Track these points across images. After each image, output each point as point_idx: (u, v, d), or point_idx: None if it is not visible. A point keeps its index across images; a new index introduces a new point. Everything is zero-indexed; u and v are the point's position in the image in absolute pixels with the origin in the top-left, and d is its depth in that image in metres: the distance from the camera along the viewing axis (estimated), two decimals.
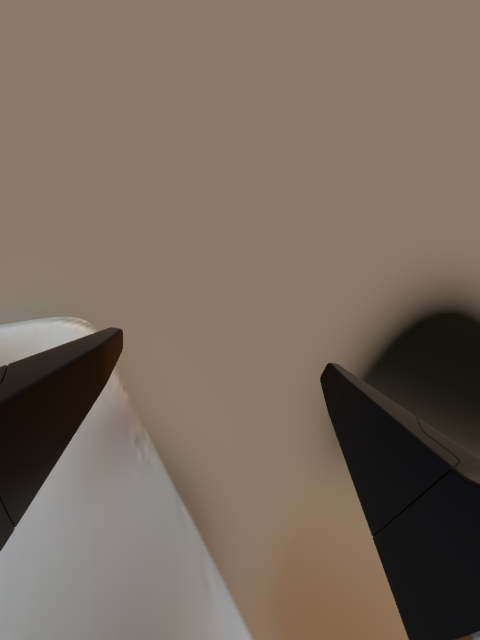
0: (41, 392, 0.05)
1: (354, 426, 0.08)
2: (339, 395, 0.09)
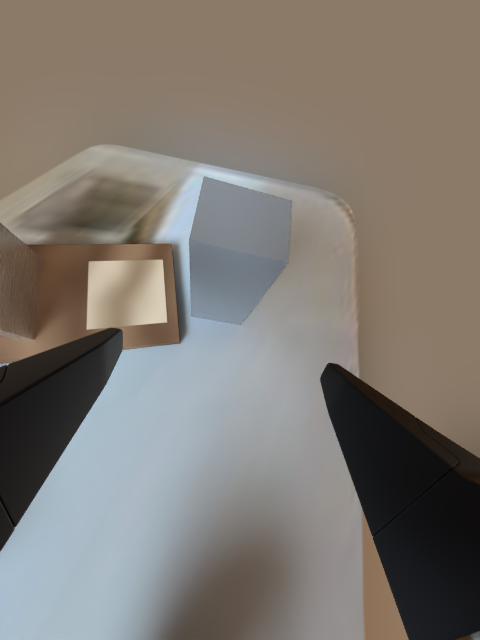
0: (41, 392, 0.05)
1: (354, 426, 0.08)
2: (339, 395, 0.09)
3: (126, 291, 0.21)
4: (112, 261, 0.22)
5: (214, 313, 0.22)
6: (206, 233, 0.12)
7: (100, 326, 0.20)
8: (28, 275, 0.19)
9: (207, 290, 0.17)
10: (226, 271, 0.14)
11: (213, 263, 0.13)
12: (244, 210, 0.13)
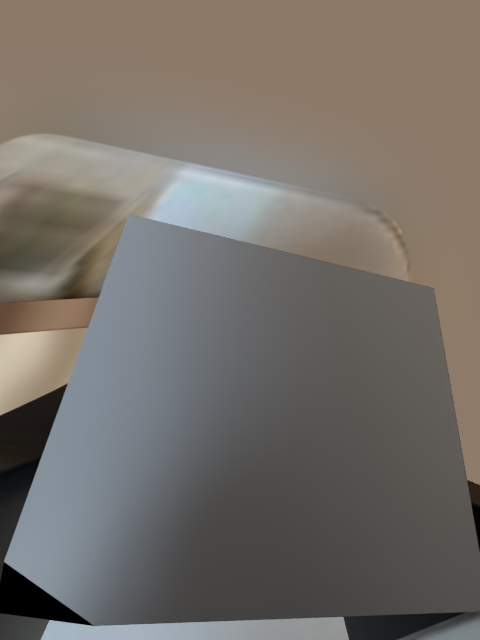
0: None
1: None
2: None
3: (45, 391, 0.12)
4: (25, 334, 0.13)
5: None
6: (101, 536, 0.02)
7: None
8: None
9: None
10: None
11: None
12: (287, 355, 0.03)
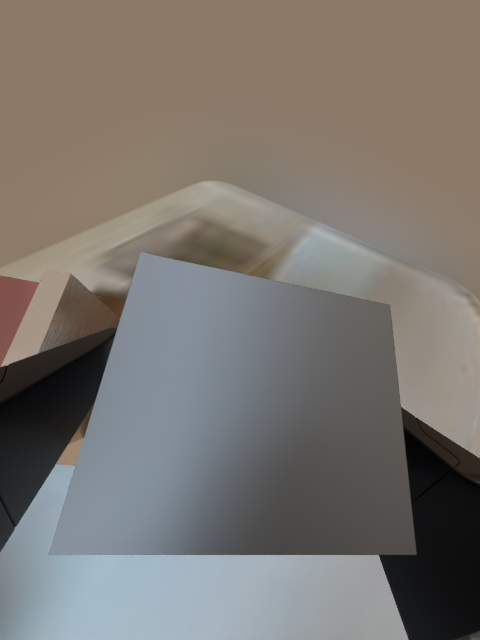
0: (41, 392, 0.05)
1: None
2: None
3: None
4: None
5: None
6: (126, 496, 0.03)
7: None
8: None
9: None
10: None
11: None
12: (265, 362, 0.04)
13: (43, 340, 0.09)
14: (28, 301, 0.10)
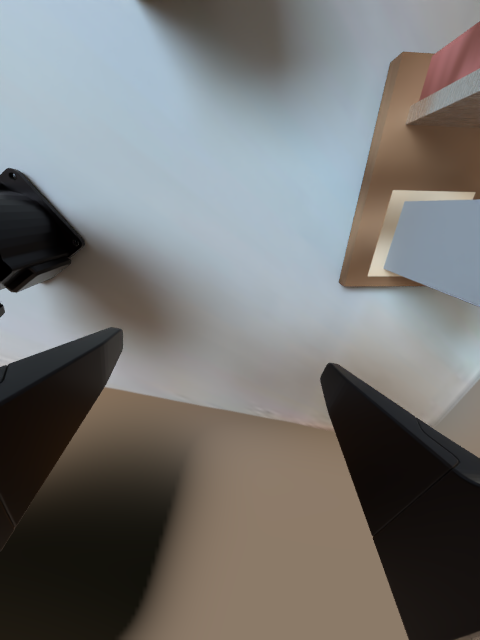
0: (41, 392, 0.05)
1: (354, 426, 0.08)
2: (339, 395, 0.09)
3: None
4: None
5: (414, 235, 0.17)
6: None
7: (390, 205, 0.18)
8: None
9: None
10: None
11: None
12: None
13: None
14: None
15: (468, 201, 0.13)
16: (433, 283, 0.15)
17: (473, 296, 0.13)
